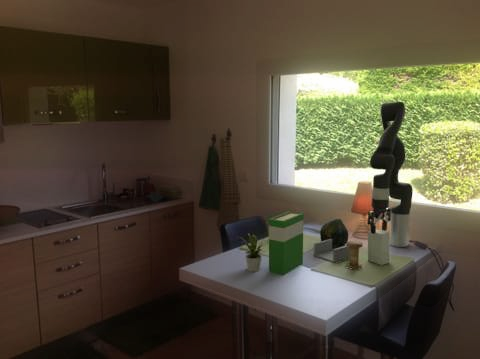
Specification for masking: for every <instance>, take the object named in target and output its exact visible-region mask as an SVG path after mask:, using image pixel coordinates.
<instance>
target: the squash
mask: <svg viewBox="0 0 480 359" xmlns="http://www.w3.org/2000/svg"><path fill="white" fill-rule="evenodd" d="M319 234H320V242H321V241H325V240H328V239H332V247H343V246H346V244H347V242H348V240H349V231H348V228H347V227H346V226H345V223H343V220H341V218H337V219H333V220H331V221H329V222H327V223H324V224H323V225H322V226H321V229H320V231H319Z"/></svg>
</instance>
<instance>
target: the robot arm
mask: <svg viewBox="0 0 480 359" xmlns="http://www.w3.org/2000/svg"><path fill="white" fill-rule="evenodd" d="M379 110H380V118H381V125H382V129H383V131H382V133H381V134H380V137H379V141H378V144H377V147H376V148H375V150H374V152H373V153H372V154H371V156H370V159H369V166H370V167H371V169H374V170H384V173H378V174H375V175H374V176H373V179H372V180H373V181H372V191H371V207H372V211H370V210H369V211H368V212H367V225H370V230H371V233H373V234H375V233H376V229H377V224H378V222H379V221H380V220H381V221H382V222H381V230H382V231H387V230H388V223H390V224H389V225H390V226H389V228H390V230H389V246H392V247H399V248H404V247H408V246H409V245H410V244H409V243H410V213H411V208H412V202H413V201H412V200H413V191H414V190H413V186H412V184H411V183H408V182H402V181H399V173H400V170H401V168H402V166H403V164H405V161H406V158H407V157H406V148H405V144H404V142H403V141H402V139H401V138H400V137H399V135H398V134H399V131H400V129H401V127H402V125H403V122H404V120H405V117H406V105H405V104H404V102H403V101H393V102H383V103H381V105H380V109H379ZM390 199H393V200H399V201H400V204H397V205H394V206H391V208H390V206H389V204H390Z"/></svg>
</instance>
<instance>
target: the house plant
mask: <svg viewBox="0 0 480 359" xmlns="http://www.w3.org/2000/svg"><path fill="white" fill-rule="evenodd" d="M247 234H248V237H249V239H248V240H249V243H250V244H249V243H248V242H247V241H246V240H245V239H244V238H243V237H239V236H238V238H240V239H241V240H243V242H241V243H242V244H245V245H246V247H247V248H244V247H242V246H241V245H240V246H239V247H240V251H243V250H244V252H245V254H246V255H245V260H246V265H247V271H249V272H258V271H260V269H261V263H262V262H261V261H262V255H261V253H266V251H265V250H263V249H261V247H263V246H265V245H262V244H263V243H265V242H266V240H263V241H264V242H263V241H261V242H260V243H259V245H258V247H257V244H258V238H257V235H255V234H252V236H251V234H250V233H247Z"/></svg>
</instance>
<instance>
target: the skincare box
mask: <svg viewBox="0 0 480 359" xmlns="http://www.w3.org/2000/svg"><path fill="white" fill-rule="evenodd" d="M389 242H390V231H387V230H386V231H384V230H382V229H377V228H376V233H375V234H373V233H371V229H370V230H368V231H367V261H368V262H372V263H375V264H378V265H380V266H383V265H386V264H389V263H390V244H389Z"/></svg>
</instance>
